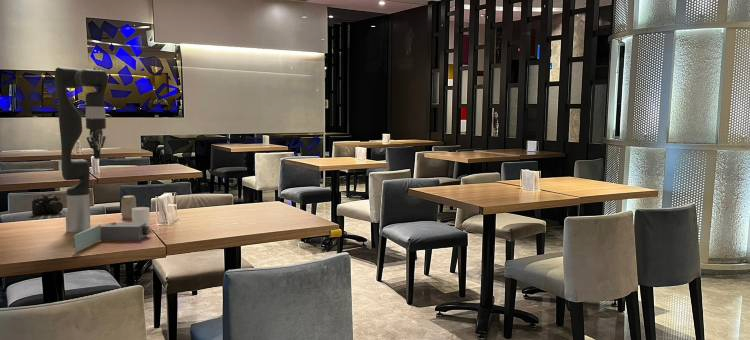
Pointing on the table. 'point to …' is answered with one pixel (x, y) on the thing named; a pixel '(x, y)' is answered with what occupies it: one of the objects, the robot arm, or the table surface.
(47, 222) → the table surface
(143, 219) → the white cup
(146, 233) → the camera housing
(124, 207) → the carving
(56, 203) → the film camera
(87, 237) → the side door
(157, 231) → the table surface
